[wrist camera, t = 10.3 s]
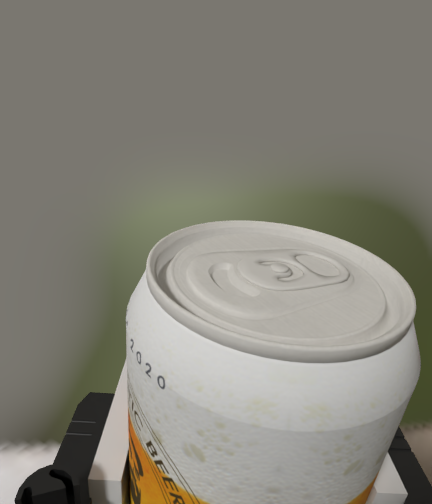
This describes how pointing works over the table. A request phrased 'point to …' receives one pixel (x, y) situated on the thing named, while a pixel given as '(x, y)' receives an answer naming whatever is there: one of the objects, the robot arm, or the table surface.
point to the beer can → (265, 367)
